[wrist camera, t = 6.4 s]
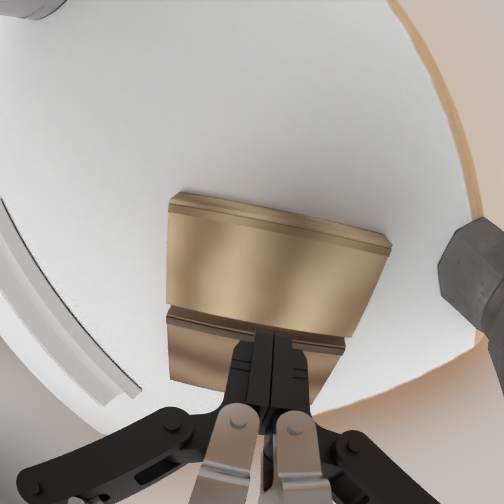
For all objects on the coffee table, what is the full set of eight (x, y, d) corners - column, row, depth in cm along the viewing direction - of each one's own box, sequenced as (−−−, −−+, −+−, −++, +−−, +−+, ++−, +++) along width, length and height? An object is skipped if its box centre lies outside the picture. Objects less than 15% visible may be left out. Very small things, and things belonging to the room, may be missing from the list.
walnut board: (173, 300, 25) (166, 315, 23) (342, 331, 25) (346, 348, 23) (174, 366, 29) (169, 380, 27) (310, 391, 29) (311, 406, 27)
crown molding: (143, 385, 34) (135, 405, 30) (98, 389, 37) (90, 405, 34) (4, 196, 22) (-17, 207, 19) (-18, 237, 26) (-34, 248, 23)
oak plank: (173, 290, 24) (165, 304, 22) (179, 192, 20) (169, 199, 18) (347, 323, 24) (351, 338, 22) (383, 234, 20) (392, 245, 18)
